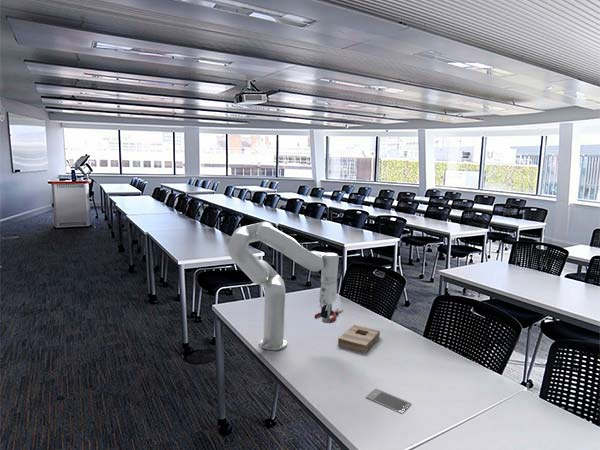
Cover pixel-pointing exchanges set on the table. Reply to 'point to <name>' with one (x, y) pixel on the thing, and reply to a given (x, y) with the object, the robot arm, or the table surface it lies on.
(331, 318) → the pliers
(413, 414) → the table surface
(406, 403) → the smartphone
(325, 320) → the pin
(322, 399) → the table surface
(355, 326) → the socket block
